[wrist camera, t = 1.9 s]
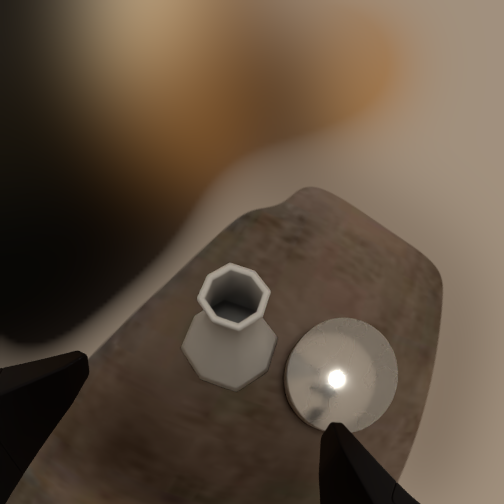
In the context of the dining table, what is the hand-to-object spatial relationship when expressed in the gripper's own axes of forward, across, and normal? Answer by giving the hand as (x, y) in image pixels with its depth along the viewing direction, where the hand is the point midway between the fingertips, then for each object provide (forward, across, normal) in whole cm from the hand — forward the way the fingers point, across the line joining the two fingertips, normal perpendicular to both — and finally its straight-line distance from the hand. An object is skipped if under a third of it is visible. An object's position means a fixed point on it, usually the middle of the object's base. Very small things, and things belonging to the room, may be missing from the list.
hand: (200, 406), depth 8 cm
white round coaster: (+11, -9, +6) cm, 15 cm away
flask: (+12, 0, +5) cm, 13 cm away
